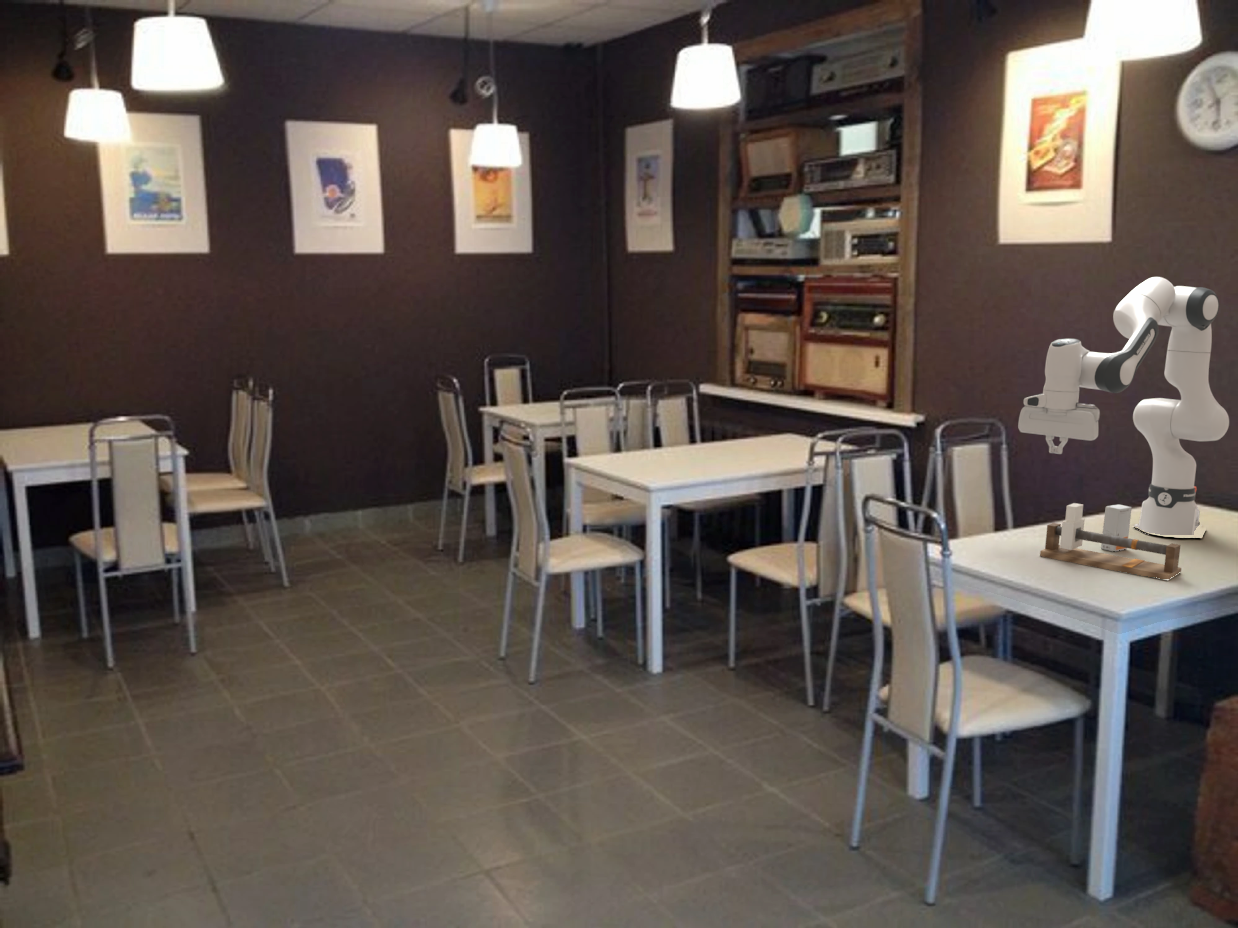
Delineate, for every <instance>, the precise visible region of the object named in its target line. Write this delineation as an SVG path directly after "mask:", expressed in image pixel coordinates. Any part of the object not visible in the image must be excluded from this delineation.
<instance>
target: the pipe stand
mask: <svg viewBox="0 0 1238 928" xmlns="http://www.w3.org/2000/svg"><path fill="white" fill-rule="evenodd" d="M1061 532H1062V524H1061V523H1058V522H1052V523H1049V524H1047V525H1046V535H1045V536H1046V537H1045V546H1044V547H1045V548H1043V549H1041V550H1040V552H1039V554H1040V555H1039V557H1041V556H1042V557H1043V558H1048V559H1052V560H1058V561H1062V562H1067V563H1072V564H1073V563H1074V564H1079V565H1083V566H1084V565H1085V566H1088V567H1094V568H1099V569H1104V570H1108V569H1109V571H1113V570H1114V571H1113V572H1118V571H1121V572H1120V573H1123V572H1127V573H1126V574H1129V573H1131V574H1130V575H1134V574H1137V575H1136V576H1139V575H1141V576H1140V577H1144V576H1148V577H1147V578H1149V577H1155V578H1156V577H1157V578H1160V579H1170V578H1171V577H1173V576H1175V575H1176V574H1178V573H1179V572H1181V573H1182V567H1180V566H1179V560H1180V550H1181V544H1178V543H1170V544H1168V545H1166V544H1163V543H1162V544H1161V543H1156V542H1150V541H1146V540H1145V541H1144V540H1139V539H1137V538H1135V539H1134V538H1132V539H1131V538H1129V537H1128V538H1122V537H1117V536H1111V535H1105V534H1103V533H1100V532H1093V531H1087V530H1083V531H1082V530H1077V529H1076V534H1075V539H1081V540H1083V541H1087V542H1092V543H1098V544H1101V543H1103V544H1108V545H1114V546H1119V547H1125V548H1127V549H1131V550H1133V551H1134V550H1135V551H1143V552H1147V553H1153V554H1159V555H1164V557H1165V559H1164V564H1163V563H1157V562H1151V561H1146V560H1144V559H1140V558H1130V557H1125V556H1124V557H1123V556H1119V555H1116V554H1115V555H1114V554H1108V553H1104V552H1098V551H1094V550H1092V551H1091V550H1087V549H1083V548H1078V547H1077V548H1075V549H1073V550H1069V549H1063V548H1060V539H1061Z"/></svg>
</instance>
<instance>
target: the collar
mask: <svg viewBox="0 0 1238 928" xmlns="http://www.w3.org/2000/svg"><path fill="white" fill-rule="evenodd" d="M1083 510H1084V504H1081V503H1076V502H1073V503H1069V504H1068V505H1066V511H1065V520H1062V524H1061V527H1062V532H1061V536H1060V541H1059V545H1060V548H1063V549H1069V550H1073V549H1075V548H1078V547H1081V546H1082V545H1083V541H1084V540H1081V539H1075V534H1076V529H1077V530H1082V531H1085V530H1084V528H1085V518H1083V514H1084V513H1083Z"/></svg>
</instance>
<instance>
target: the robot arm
mask: <svg viewBox="0 0 1238 928" xmlns="http://www.w3.org/2000/svg"><path fill="white" fill-rule="evenodd" d="M1219 310H1220V299H1219V297H1218V295H1217V294H1216V292H1215V291H1214V290H1212V289H1209V288H1206V287H1202V286H1200V287H1196V286H1195V287H1194V286H1187V285H1186V286H1184V285H1176V286H1174V285H1173V283H1172V282H1170V281H1169V280H1168V279H1167V278H1164V277H1162V276H1152V277H1149V278H1147V279H1145V280H1144V281H1143V282H1140V283H1139V284H1138V285H1137V286H1135V287H1134V288H1133V289H1132V290H1131V291H1130V292H1129V293H1128V294H1127V295H1126V296H1125V297H1123V299H1122V300H1121V301H1120V302H1119V303H1118V304H1117V305H1116V307H1115V309H1114V310H1113V313H1112V315H1113V317H1112V318H1113V320H1112V321H1113V324H1114V326H1115V329H1116V330H1117V331H1118V333H1120V334H1121V335H1122V336H1123V337H1124V338H1126V339H1128V341H1127V342H1126V344H1125V345H1124V347H1122V349H1121V350H1120V351H1116V352H1112V353H1110V352H1097V351H1090V350H1089V349H1087V348H1085V347H1084V346H1083V345H1082V341H1081V340H1080V339H1078V338H1058V339H1056V340H1054V341H1052V342H1050V345H1049V348H1048V350H1047V353H1046V358H1045V366H1044V375H1045V381H1044V386H1043V389H1042V393H1039V394H1035V395H1031V396H1028V397H1024V399H1023V405H1024V406H1023V407H1022V408H1021V410H1020V413H1019V417H1018V423H1017V424H1018V425H1017V427H1018V430H1019V433H1022V434H1023V433H1024V434H1033V435H1041V436H1042V435H1043V436H1045V441H1046V443H1047V446H1048V452H1049V454H1057V455H1062V454H1063V452H1064V451H1063V448H1064V447H1065V446H1066V444H1067V443H1068V441H1069V439H1074V440H1081V441H1082V440H1083V441H1090V442H1091V441H1095V440H1096V439H1097V438H1098V437H1099V420H1100V416H1101V411H1100V409H1099V408H1098V406H1096V405H1095V404H1091V403H1089V404H1088V403H1082V402H1079V401H1080V400H1079V397H1080V388H1085V389H1092V390H1099V391H1104V392H1108V393H1112V394H1118V393H1121V392H1123V391H1125V390H1126V389H1127V388H1128V387H1129V386H1130V385H1131V383H1132V382H1133V380H1134V378H1135V375H1136V373H1137V370H1138V368H1139V366H1140V365H1141V364H1142V362H1143V361H1144V359H1145V357H1146V356H1147V355H1148V353H1149V351H1150V350H1151V348H1152V347H1153V345H1154V343H1155V342H1156V340H1157V338H1158V335H1159V329H1160V328H1159V326H1162V327H1163V326H1164V327H1171V331H1170V334H1169V338H1168V342H1167V343H1168V344H1167V349H1166V357H1165V365H1164V378H1165V379H1166V381H1167V382H1168V383H1169V384H1170V385H1172V386H1173V387H1174V388H1176V389H1177V390H1178V391H1179V395H1180V399H1172V398H1163V397H1155V398H1144V399H1142V400H1141V401H1140V402H1138V403H1137V405H1136V406H1135V408H1134V410H1133V414H1132V420H1133V424H1134V427H1135V428H1136V429H1137V431H1139V432H1140V433H1141V434H1142V436H1144V438H1145V439H1146V441H1147V442H1148V445H1149V448H1150V450H1151V454H1152V455H1151V456H1152V475H1151V483H1150V484H1149V487H1148V498H1147V499H1145V500H1143V501H1142V503H1141V509H1140V516H1139V521H1138V523H1134V524H1133V526H1134V527H1138V528H1139V529H1141V530H1144V531H1145V532H1149V533H1155V534H1160V535H1194V531H1195V530H1196V528H1197V527H1198V526H1199V525H1200V512H1201V511H1200V509H1199V507H1198V505H1197V504H1196V501H1195V500H1196V495H1197V494H1196V493H1197V490H1198V489H1197V486H1195V481H1196V471H1197V462H1196V460H1195V458H1194V456H1193V455H1191V454H1190V453H1188V452H1187V451H1185V449H1184V448H1183V447H1182V445H1181V443H1180V440H1188V441H1195V442H1215V441H1219V440H1221V438H1223V437H1224V436H1225V434H1226V433H1227V431H1228V429H1229V426H1230V417H1229V414H1228V412H1227V411H1226V409H1225V408H1224V407H1223V406H1221V404H1219V402H1218V400H1216V398H1215V397H1214V395H1213V392H1212V390H1211V387H1210V382H1209V373H1210V372H1209V370H1210V369H1209V368H1210V360H1211V352H1212V340H1213V339H1212V338H1213V337H1212V333H1213V332H1212V323H1213V322H1214V321H1215V319H1216V318H1217V316H1218V314H1219ZM1055 437H1057V438H1059V442H1060V443H1059V444H1058V446H1057V445H1055V443H1054V441H1053V440H1054V439H1055Z"/></svg>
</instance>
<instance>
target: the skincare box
mask: <svg viewBox="0 0 1238 928" xmlns="http://www.w3.org/2000/svg"><path fill="white" fill-rule="evenodd" d="M1104 509H1105V511H1104V518H1103V519H1104V520H1103V526H1102V528H1103V529H1102V534H1105V535H1111V536H1117V537H1122V538H1128V539H1129V534H1130V525H1131V519H1132V518H1131V516H1132V509H1133V508H1132V506H1128V505H1123V504H1112V505H1107V506H1105V508H1104ZM1100 549H1101V550H1105V551H1109V552H1113V551H1115V552H1120V551H1125V550H1124V549H1126V550H1127V549H1128V548H1125V547H1119V546H1114V545H1108V544H1103V543H1100ZM1119 550H1120V551H1119Z"/></svg>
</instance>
